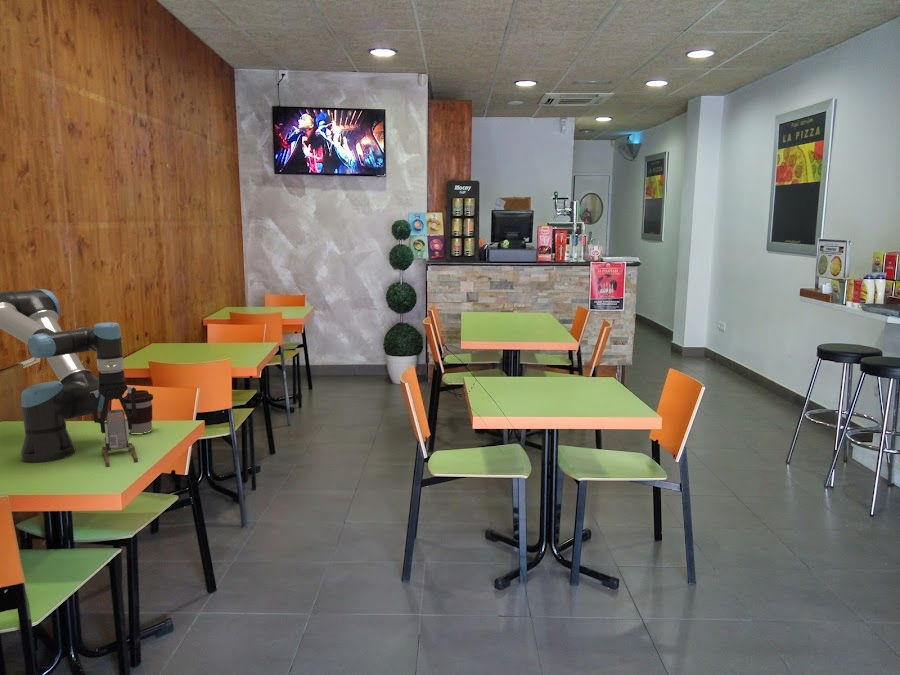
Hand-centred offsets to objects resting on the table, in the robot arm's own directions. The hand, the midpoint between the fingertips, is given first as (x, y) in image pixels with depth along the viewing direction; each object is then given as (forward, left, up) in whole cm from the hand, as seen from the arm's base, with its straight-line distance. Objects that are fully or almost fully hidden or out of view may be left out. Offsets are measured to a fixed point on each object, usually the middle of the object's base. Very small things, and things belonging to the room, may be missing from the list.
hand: (117, 440), depth 227 cm
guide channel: (0, -4, -4) cm, 6 cm away
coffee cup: (+9, +23, -4) cm, 25 cm away
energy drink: (0, 0, -2) cm, 2 cm away
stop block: (0, +6, -4) cm, 7 cm away
